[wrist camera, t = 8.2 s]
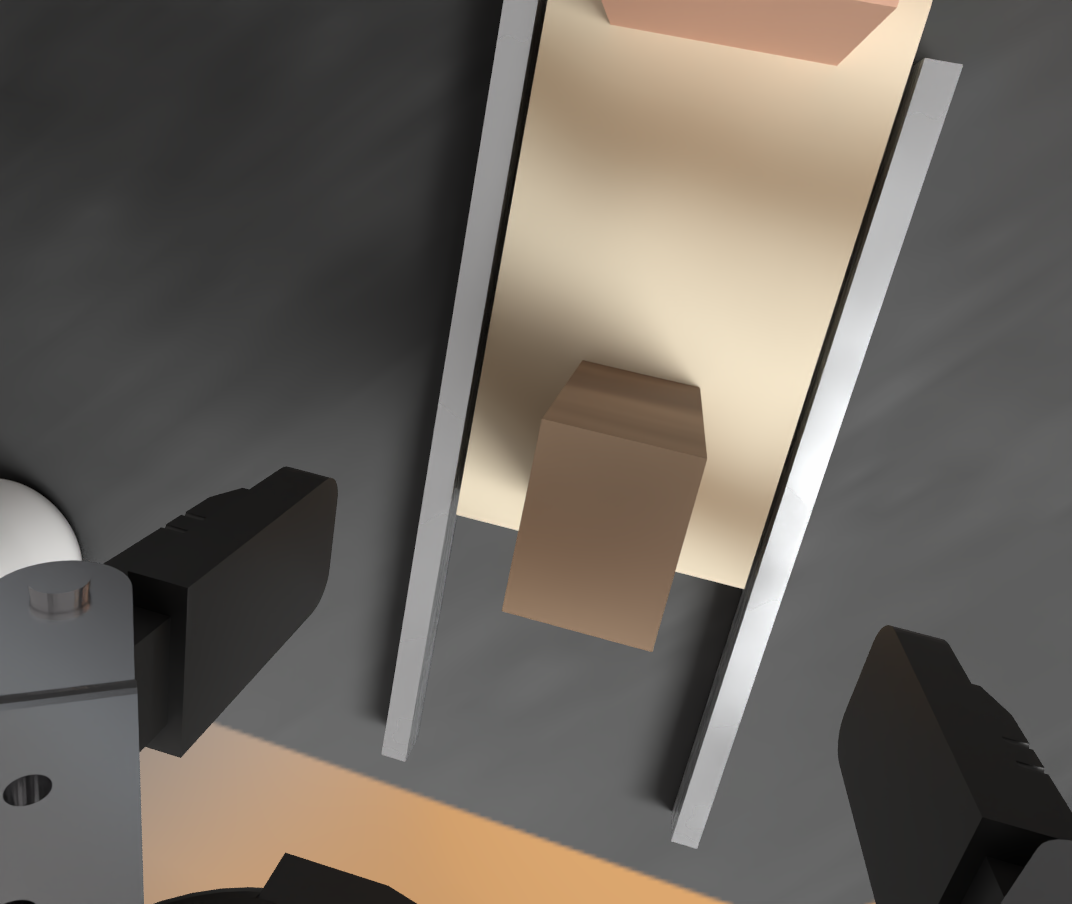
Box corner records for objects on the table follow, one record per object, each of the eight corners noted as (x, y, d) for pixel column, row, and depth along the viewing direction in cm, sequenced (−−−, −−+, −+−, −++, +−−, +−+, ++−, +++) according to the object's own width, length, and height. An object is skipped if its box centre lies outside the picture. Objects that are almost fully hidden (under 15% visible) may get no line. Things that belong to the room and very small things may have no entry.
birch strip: (649, -486, 16) (622, -1050, 9) (1057, -442, 15) (1391, -1029, 8) (470, 495, 23) (375, 621, 16) (740, 565, 22) (767, 730, 15)
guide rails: (517, -4, 19) (506, -18, 18) (944, 74, 18) (963, 64, 17) (394, 731, 26) (381, 754, 25) (696, 820, 25) (697, 848, 24)
